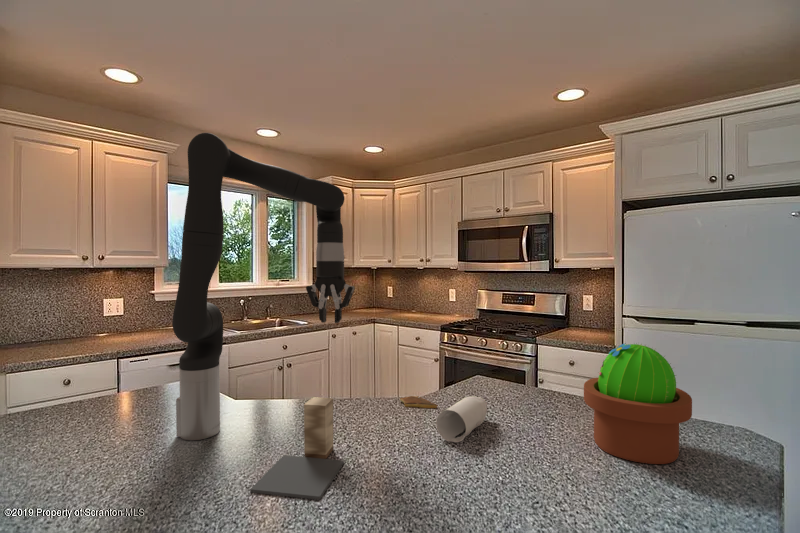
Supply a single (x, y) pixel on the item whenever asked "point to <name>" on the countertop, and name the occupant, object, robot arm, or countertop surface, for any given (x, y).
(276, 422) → the countertop surface
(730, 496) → the countertop surface
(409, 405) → the shard
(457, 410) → the hollow grey tube
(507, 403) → the countertop surface
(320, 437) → the maple block
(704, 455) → the countertop surface
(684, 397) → the potted cactus
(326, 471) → the mat
